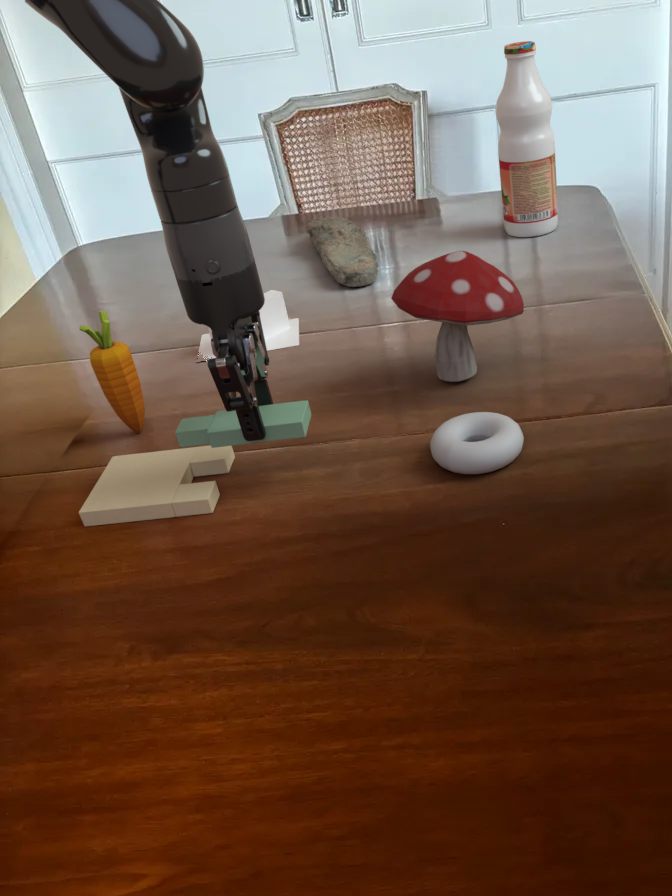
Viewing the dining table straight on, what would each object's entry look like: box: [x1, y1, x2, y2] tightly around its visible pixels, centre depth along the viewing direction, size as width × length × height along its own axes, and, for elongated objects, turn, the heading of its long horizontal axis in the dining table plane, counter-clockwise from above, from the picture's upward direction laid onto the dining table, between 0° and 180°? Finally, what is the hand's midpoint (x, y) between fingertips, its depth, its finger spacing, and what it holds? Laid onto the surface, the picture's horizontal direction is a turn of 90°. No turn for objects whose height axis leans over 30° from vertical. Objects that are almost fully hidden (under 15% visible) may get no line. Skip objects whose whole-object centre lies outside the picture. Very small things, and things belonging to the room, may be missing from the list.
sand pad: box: [78, 444, 236, 528], centre depth 98 cm, size 14×12×2 cm
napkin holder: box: [197, 289, 300, 362], centre depth 130 cm, size 15×11×6 cm
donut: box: [429, 411, 525, 475], centre depth 95 cm, size 10×4×10 cm
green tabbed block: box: [174, 399, 312, 448], centre depth 94 cm, size 14×5×2 cm, turn 90°
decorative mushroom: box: [390, 250, 525, 383], centre depth 108 cm, size 16×16×15 cm
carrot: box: [79, 310, 146, 435], centre depth 107 cm, size 5×5×15 cm
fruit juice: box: [495, 40, 559, 238], centre depth 148 cm, size 9×9×28 cm
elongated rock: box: [305, 216, 379, 288], centre depth 155 cm, size 35×5×10 cm
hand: (260, 425), depth 94 cm, fingers closed on green tabbed block, 5 cm apart
